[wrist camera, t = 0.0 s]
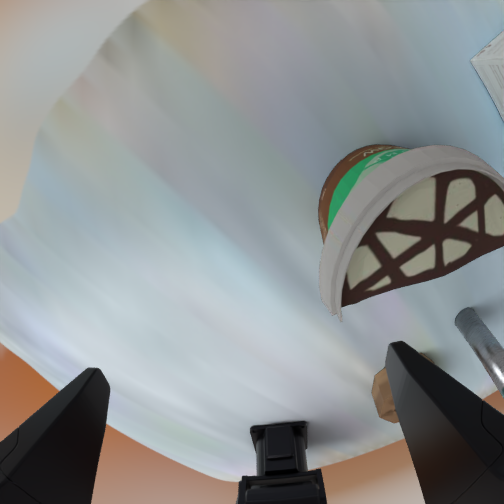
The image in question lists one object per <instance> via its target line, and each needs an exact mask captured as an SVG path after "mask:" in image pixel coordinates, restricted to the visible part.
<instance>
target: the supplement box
mask: <svg viewBox="0 0 504 504" xmlns="http://www.w3.org/2000/svg"><path fill="white" fill-rule="evenodd" d="M470 61H471V63H472V65H473V66H474V68H475V70H476V71H477V73H478V75H479V76H480V78H481V80H482V81H483V83H484V85H485V87H486V88H487V90H488V92H489V94H490V96H491V97H492V99H493V101H494V103H495V105H496V107H497V109H498V111H499V113H500V115H501V117H502V119H503V121H504V31H502V32H501V33H500V34H499V35H498V36H497V37H496V38H495V39H493V40H492V41H491V42H490V43H489V44H488V45H486V46H485V47H484V48H483V49H482V50H481V51H480V52H478V54H476V55H475V56H474V57H473V58H472V59H471V60H470Z"/></svg>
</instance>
